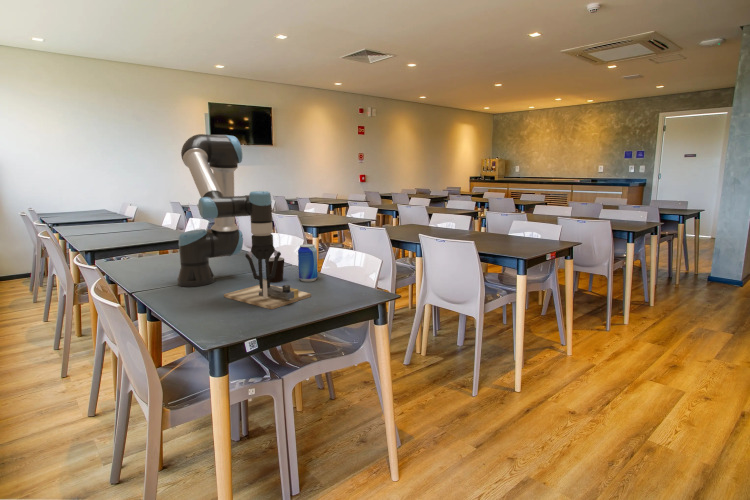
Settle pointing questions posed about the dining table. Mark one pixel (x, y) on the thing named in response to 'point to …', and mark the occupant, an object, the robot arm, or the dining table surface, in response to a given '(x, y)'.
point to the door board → (256, 298)
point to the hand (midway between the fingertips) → (265, 296)
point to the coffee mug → (277, 269)
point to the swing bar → (281, 292)
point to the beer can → (307, 262)
